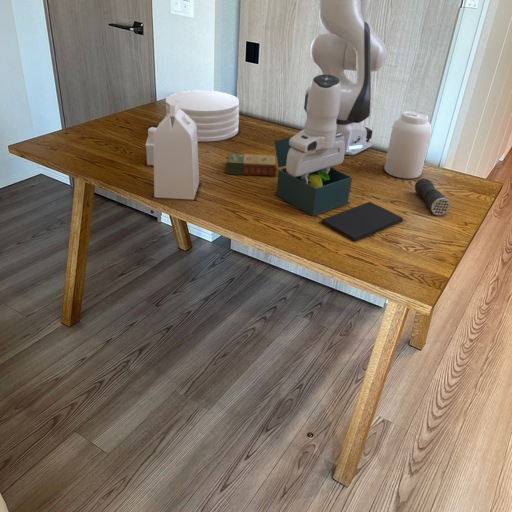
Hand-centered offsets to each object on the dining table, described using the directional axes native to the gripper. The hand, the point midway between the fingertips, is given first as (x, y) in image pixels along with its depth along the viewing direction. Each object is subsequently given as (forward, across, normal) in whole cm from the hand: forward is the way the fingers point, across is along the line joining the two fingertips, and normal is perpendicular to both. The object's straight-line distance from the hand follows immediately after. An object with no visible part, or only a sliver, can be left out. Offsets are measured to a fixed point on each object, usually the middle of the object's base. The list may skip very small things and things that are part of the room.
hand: (313, 183), depth 146 cm
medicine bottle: (+5, +24, -49) cm, 55 cm away
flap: (-7, 0, -9) cm, 12 cm away
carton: (+5, +2, -27) cm, 27 cm away
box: (+5, 0, 0) cm, 5 cm away
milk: (+5, +30, -27) cm, 41 cm away
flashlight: (+5, -28, +22) cm, 36 cm away
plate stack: (+5, -7, -69) cm, 70 cm away
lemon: (+5, 0, 0) cm, 5 cm away
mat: (+5, -2, +18) cm, 19 cm away
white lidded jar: (+5, -41, +2) cm, 41 cm away
